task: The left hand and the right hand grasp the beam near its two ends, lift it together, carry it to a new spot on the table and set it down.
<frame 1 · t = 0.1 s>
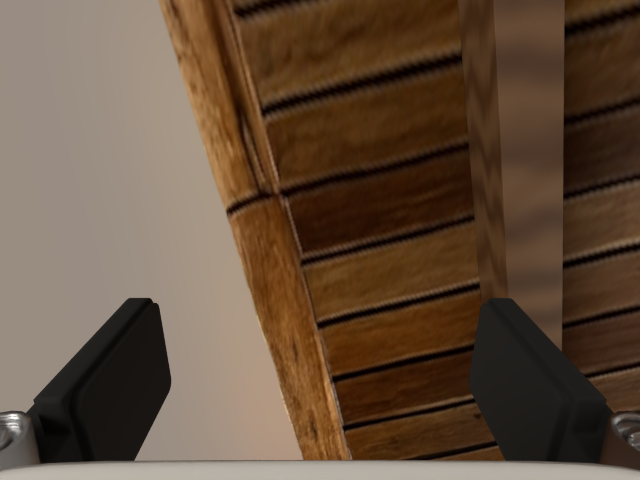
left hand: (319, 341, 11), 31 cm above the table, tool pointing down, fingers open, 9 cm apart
beam: (499, 241, 44), on the table
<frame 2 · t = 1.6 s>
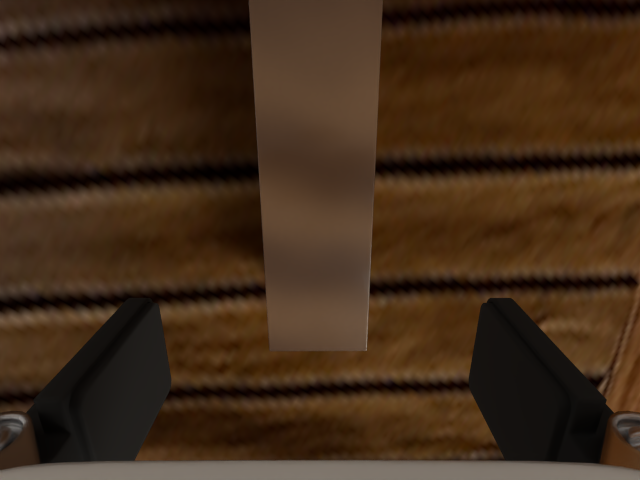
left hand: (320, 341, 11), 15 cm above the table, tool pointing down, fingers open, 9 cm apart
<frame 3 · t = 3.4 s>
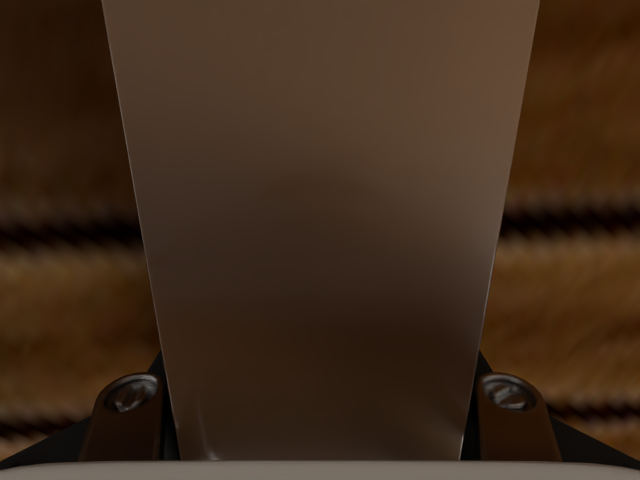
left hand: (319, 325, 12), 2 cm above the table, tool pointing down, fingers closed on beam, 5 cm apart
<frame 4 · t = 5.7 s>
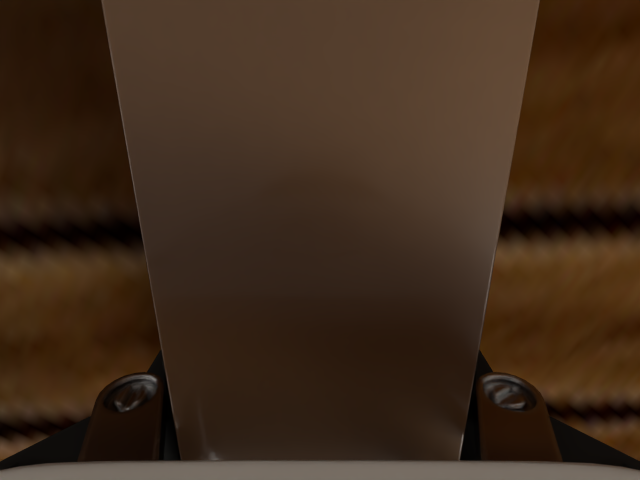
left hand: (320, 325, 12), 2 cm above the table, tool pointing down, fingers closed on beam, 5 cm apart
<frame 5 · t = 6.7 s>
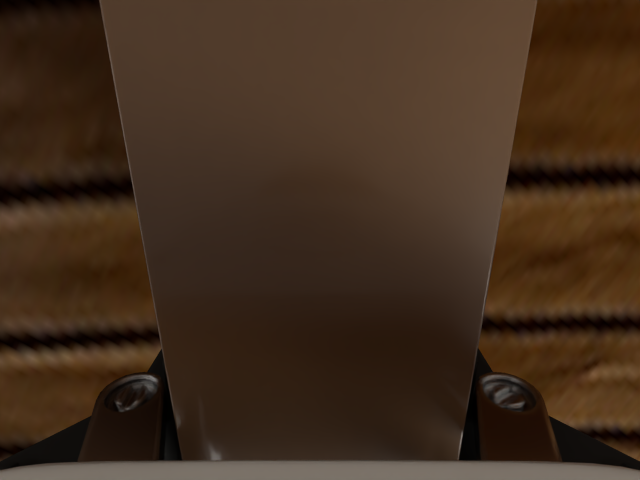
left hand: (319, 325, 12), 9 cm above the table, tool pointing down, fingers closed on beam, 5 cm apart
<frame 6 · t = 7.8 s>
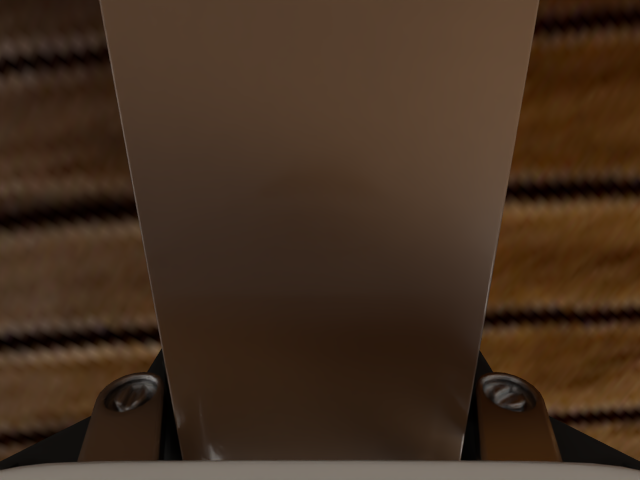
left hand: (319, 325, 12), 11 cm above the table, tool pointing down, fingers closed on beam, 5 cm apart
when the right hand's fingers open (2 cm above the table, at t = 10.2 s): beam drops 1 cm, on the table.
when the left hand's fingers open (3 cm above the table, at t = 10.4 s): beam stays where it is, on the table.
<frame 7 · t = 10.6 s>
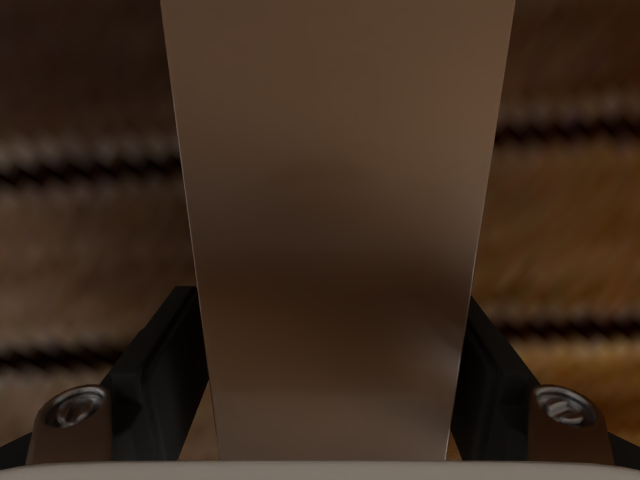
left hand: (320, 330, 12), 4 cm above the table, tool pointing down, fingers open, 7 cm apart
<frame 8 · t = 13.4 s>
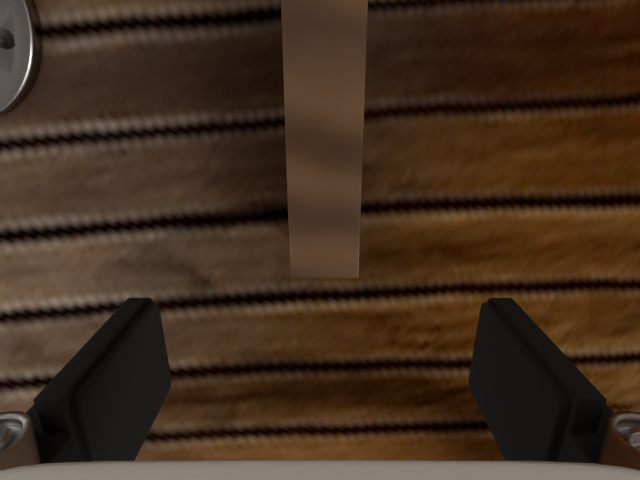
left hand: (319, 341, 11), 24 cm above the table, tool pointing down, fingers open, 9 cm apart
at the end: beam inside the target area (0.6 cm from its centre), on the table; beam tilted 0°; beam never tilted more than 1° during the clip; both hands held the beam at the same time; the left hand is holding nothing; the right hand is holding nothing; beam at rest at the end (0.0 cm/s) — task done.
